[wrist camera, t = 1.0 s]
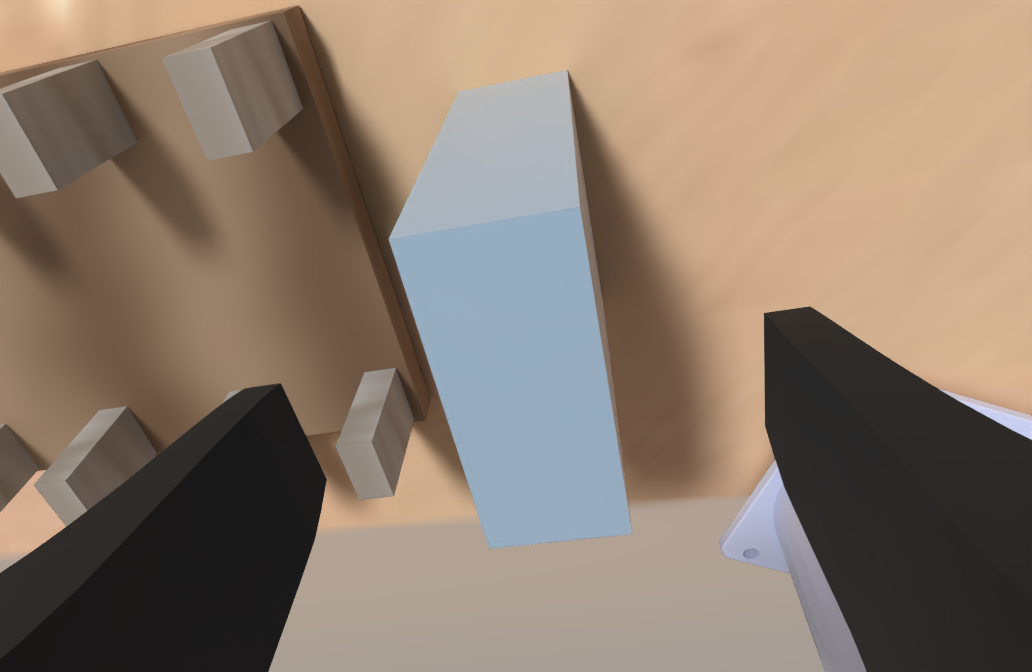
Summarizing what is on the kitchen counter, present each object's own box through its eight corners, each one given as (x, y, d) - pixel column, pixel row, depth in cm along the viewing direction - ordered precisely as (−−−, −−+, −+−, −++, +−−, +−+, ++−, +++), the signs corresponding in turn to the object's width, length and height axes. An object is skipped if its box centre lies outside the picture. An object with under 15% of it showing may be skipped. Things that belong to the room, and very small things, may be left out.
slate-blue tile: (567, 70, 15) (579, 205, 9) (602, 300, 18) (632, 534, 12) (458, 91, 16) (388, 238, 9) (511, 314, 19) (489, 548, 12)
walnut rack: (298, 5, 15) (224, 37, 11) (430, 398, 20) (406, 498, 17) (-224, 123, 17) (-420, 180, 13) (28, 452, 22) (-65, 551, 19)
